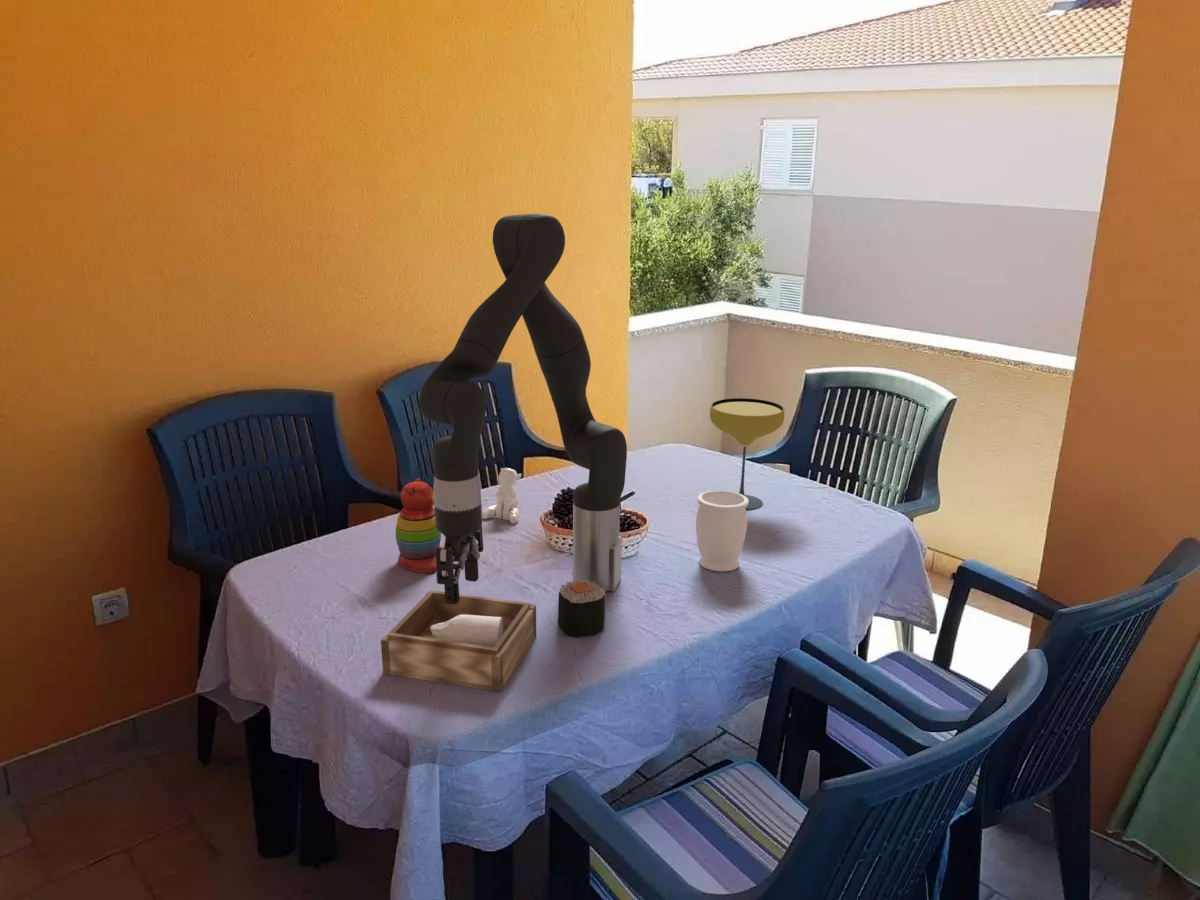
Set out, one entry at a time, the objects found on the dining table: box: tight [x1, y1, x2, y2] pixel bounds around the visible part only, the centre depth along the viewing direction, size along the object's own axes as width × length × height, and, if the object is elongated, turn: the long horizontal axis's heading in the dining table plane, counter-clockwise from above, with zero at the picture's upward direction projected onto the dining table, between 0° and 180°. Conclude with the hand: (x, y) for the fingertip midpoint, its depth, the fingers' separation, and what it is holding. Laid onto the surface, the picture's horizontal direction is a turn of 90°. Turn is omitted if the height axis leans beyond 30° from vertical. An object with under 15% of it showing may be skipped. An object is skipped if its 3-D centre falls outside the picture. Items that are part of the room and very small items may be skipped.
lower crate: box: [380, 590, 537, 693], centre depth 150 cm, size 20×18×6 cm
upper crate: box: [386, 590, 531, 654], centre depth 150 cm, size 19×17×6 cm
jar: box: [695, 489, 749, 573], centre depth 186 cm, size 11×10×15 cm
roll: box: [430, 615, 503, 648], centre depth 150 cm, size 6×12×6 cm, turn 87°
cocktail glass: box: [709, 397, 785, 511], centre depth 220 cm, size 18×18×25 cm
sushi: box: [557, 579, 606, 638], centre depth 160 cm, size 8×8×8 cm
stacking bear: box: [395, 478, 444, 574], centre depth 185 cm, size 11×10×18 cm
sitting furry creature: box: [482, 467, 523, 525], centre depth 211 cm, size 10×9×12 cm
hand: (462, 591), depth 148 cm, fingers open, 8 cm apart
